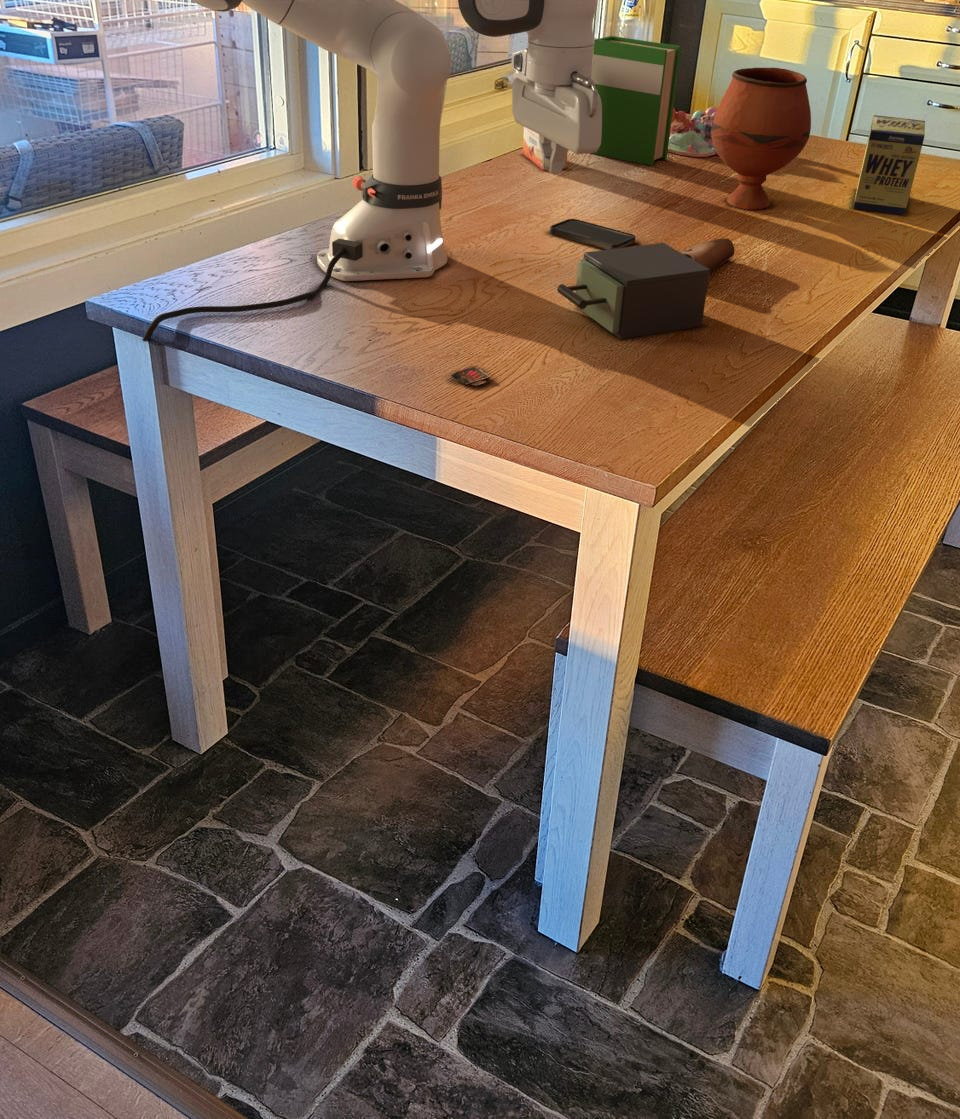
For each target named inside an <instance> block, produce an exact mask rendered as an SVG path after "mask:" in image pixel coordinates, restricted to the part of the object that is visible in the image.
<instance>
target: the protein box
mask: <svg viewBox="0 0 960 1119" xmlns="http://www.w3.org/2000/svg"><path fill="white" fill-rule="evenodd" d="M925 131H926V121H925V120H921V119H914V118H913V119H912V118H906V117H905V118H904V117H895V116H885V115H876V114H874V115H873V118H872V122H871V125H870V129H869V133H868V138H867V142H866V147H865V152H864V154H863V159H862V165H861V169H860V173H859V177H858V182H857V187H856V191H855V196H854V202H853V206H852V208H853V210H855V209H856V210H862V211H872V212H877V213H885V214H891V215H892V214H893V215H900V216H905V215H906V210H907V206H908V204H909V200H910V196H911V192H912V188H913V182H914V180H915V177H916V176H915V175H916V172H917V168H918V164H919V160H920V156H921V152H922V149H923V144H924V140H925V135H926V132H925Z"/></svg>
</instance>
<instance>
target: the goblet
mask: <svg viewBox="0 0 960 1119" xmlns="http://www.w3.org/2000/svg"><path fill="white" fill-rule="evenodd" d="M731 77H732V78H731V81H730V83H729V85H728V87H727V89H726V91H725V93H724V95H723V96H722V98H721V100H720V102H719V104H718V107H717V108H716V109H717V111H716V113H715V116H714V120H713V124H712V131H711V136H712V141H713V144H714V147H715V149H716V151H717V153H718V154H717V155H718V156H719V158H720V160H722V162H723V163H724V164H725V165H726V166H727V167H728V168H730V169H731V170H733V171H734V172H735V173H737V176H736V180H737V181H738V183H739V185H738V186H737V187H736V189H734V190H733V192H731V193H730V194H729V196H728V197H727V199H726V201H727V203H728V204H729V205H730V206H732V207H734V208H738V209H742V210H752V211H754V210H764V209H767V208H768V207H769V206H771V200H770V198H769V196H768V194H767V193H766V191H765V189H764V188H763V184H764V183H765V182H766V180H767V176H770V175H771V174H773V173H776V172H777V171H780V170H781V169H783V168H785V167H786V166H788V165H789V164H791V162H792V161H793V160H795V159H796V158H797V157H798V156H799V155H800V154H801V152H802V151H803V150H804V149H805V147H806V146H807V143H808V141H809V140H810V139H809V138H810V135H811V130H812V112H811V105H810V99H809V94H808V88H807V82H808V79H807V77H806V76H805V75H804V74H802V73H800V72H797V71H794V70H790V69H786V68H780V67H749V68H748V67H747V68H745V67H744V68H739V69H736V70H734V71H733V72H732V74H731Z"/></svg>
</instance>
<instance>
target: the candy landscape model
mask: <svg viewBox="0 0 960 1119" xmlns="http://www.w3.org/2000/svg"><path fill="white" fill-rule="evenodd" d="M716 111H717V108H716V106H710V107H708V108H707V109H706V110H705V111H702V110H696V111H695V112H694V113H693V114H692V116H691V118H690V119H688V118H687V113H686V111H684V110H679V111H677V110H676V109H675V107H673V113H672V121H671V124H672V123H674V122H675V121H676V122H677V123H678V124H679V125H678V124H677V125H674V126H671V129H670V137H669V145H668V152H667V153H671V154H675V155H678V156H679V155H680V156H685V157H686V156H687V157H693V158H703V157H710V156H715V155H718V153H717V151H716V149H715V147H714V144H713V141H712V136H711V131H712V124H713V120H714V116H715V113H716Z"/></svg>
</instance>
